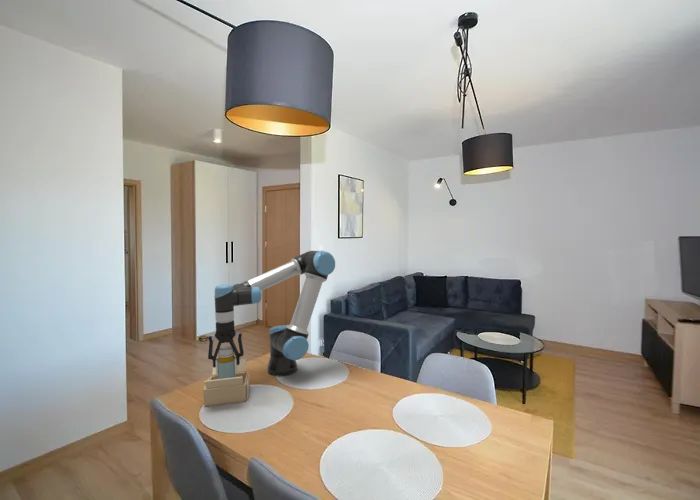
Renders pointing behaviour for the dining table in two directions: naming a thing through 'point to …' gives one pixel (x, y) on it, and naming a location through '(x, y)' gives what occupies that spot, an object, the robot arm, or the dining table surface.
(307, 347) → the robot arm
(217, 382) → the front flap
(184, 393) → the dining table surface
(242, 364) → the back flap
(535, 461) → the dining table surface
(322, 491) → the dining table surface
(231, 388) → the carton
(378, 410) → the dining table surface
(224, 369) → the bottle
